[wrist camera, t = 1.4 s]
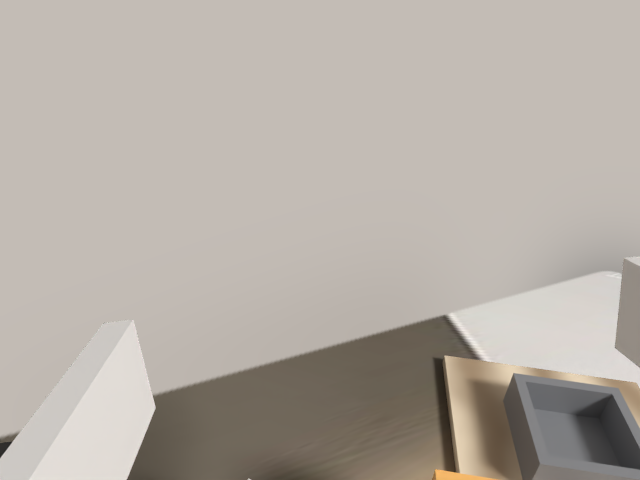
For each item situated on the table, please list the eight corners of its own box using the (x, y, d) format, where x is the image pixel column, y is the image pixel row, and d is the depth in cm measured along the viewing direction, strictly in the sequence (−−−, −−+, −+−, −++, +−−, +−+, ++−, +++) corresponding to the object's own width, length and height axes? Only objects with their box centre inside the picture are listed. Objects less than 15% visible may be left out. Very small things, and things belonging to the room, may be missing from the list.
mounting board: (466, 556, 32) (469, 548, 32) (442, 363, 47) (444, 355, 47) (752, 606, 31) (760, 598, 30) (632, 390, 46) (636, 382, 46)
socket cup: (526, 492, 35) (540, 463, 33) (503, 400, 43) (513, 373, 41) (648, 512, 35) (669, 484, 33) (603, 415, 42) (618, 388, 40)
